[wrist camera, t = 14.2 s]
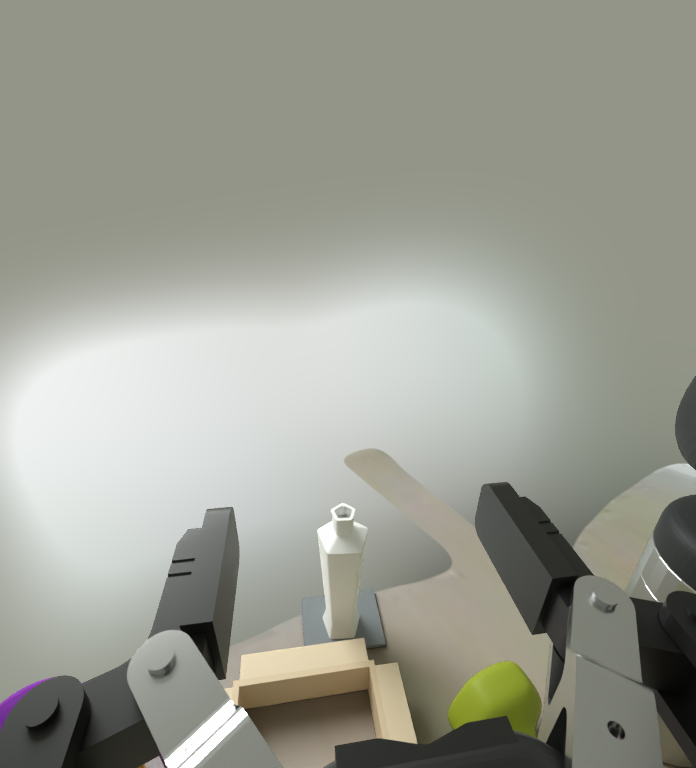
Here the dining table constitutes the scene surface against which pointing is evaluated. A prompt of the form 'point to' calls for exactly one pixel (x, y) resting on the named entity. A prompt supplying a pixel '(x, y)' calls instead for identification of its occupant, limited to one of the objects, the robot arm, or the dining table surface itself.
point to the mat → (366, 627)
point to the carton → (326, 682)
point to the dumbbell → (498, 698)
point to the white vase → (342, 570)
